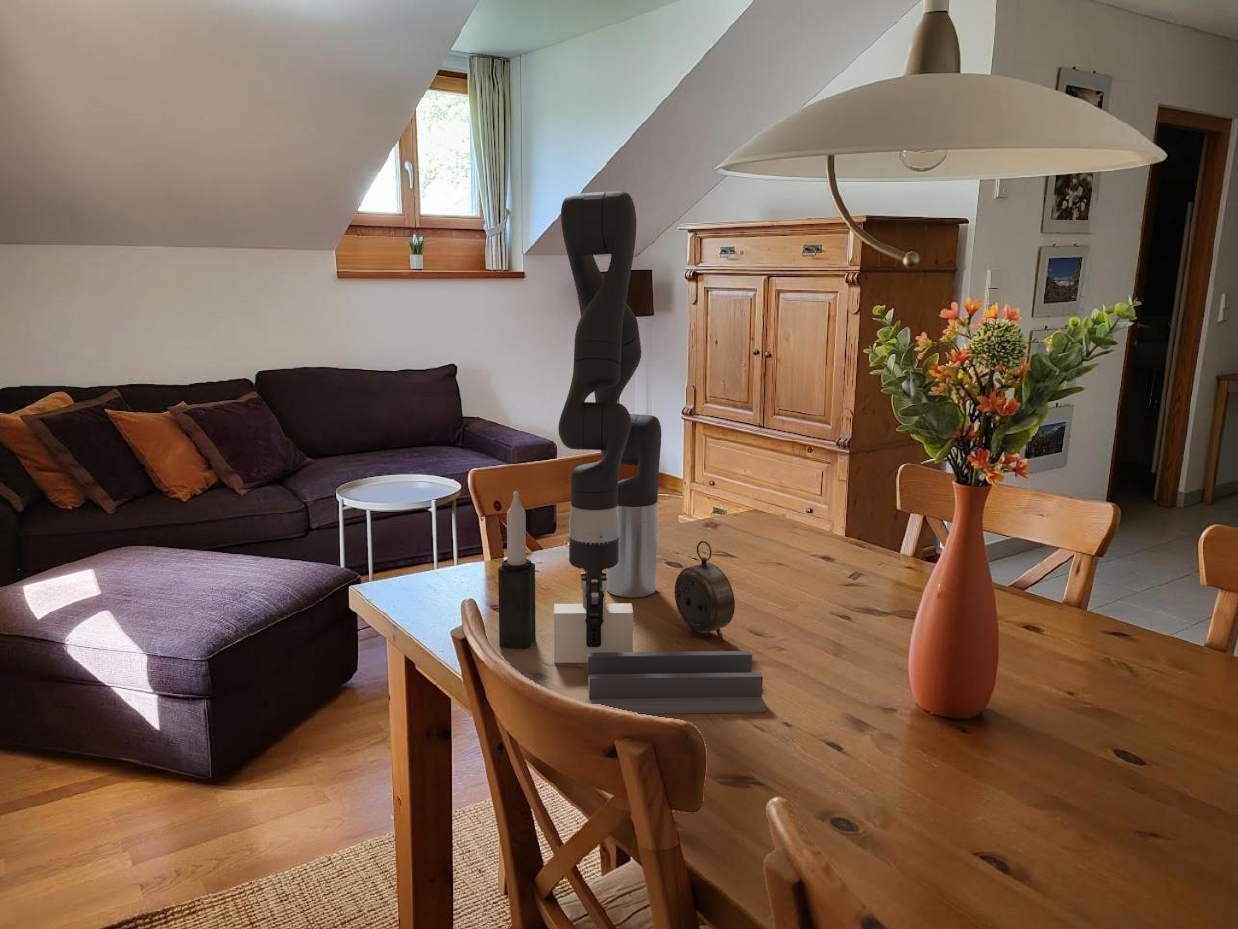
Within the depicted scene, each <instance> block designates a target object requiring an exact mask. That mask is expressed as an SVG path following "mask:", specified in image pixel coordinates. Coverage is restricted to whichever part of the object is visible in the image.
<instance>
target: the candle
mask: <svg viewBox="0 0 1238 929" xmlns="http://www.w3.org/2000/svg"><path fill="white" fill-rule="evenodd" d="M519 493H520V492H518V491H517V490H515V491H514V492H513V493H512V494H513V497H512V502H511V504H510V505H511V506H509V509H507V512H506V547H507V548H506V549H507V553H506V555H507V558H506V559H504V560H503V561H502V562H501V565H500V566H499V567H498V569H497V570H498V571H497V572H498V573H497V575H498V578H497V579H498V580H497V581H498V586H497V587H498V641H499V642H498V643H499V646H500V647H501V648H507V649H508V648H509V649H518V650H526V649H529V648H531V645H532V643H533V642H534V641H536V564H535V563H534V562H532V561H531V560H530V559H527V543H526V542H527V538H526V536H527V535H526V534H527V532H526V531H527V529H526V528H527V527H526V525H527V523H526V522H527V519H526V511H525V509H524V508H523V506H522V503H521V501H520V497H519V496H520V495H519Z"/></svg>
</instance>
